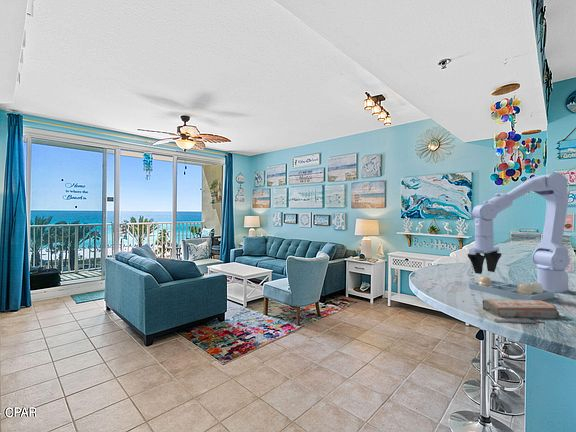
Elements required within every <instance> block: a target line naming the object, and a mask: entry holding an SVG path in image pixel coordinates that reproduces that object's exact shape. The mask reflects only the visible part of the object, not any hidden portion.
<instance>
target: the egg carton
mask: <svg viewBox="0 0 576 432" xmlns="http://www.w3.org/2000/svg"><path fill="white" fill-rule="evenodd" d="M491 282H492V286H490V287H486V286H482V285H479V281H475V282H470V283H468V287H469V289H470V290H473V291H478V292H483V293H487V294H491V295H494V296H499V297H503V298H507V299H511V300H512V299H513V300H541V301H545V300H547V301H548V300H550V299H554V298H555V292H553V291H548V290H543V293H537V292H532V295H530V296H529V295H524V294H520V293H517V286H518V285H519V284H516V283H510V282H505V281H504V282H503V281H500V280H495V279H494V280H493V279H491Z"/></svg>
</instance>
